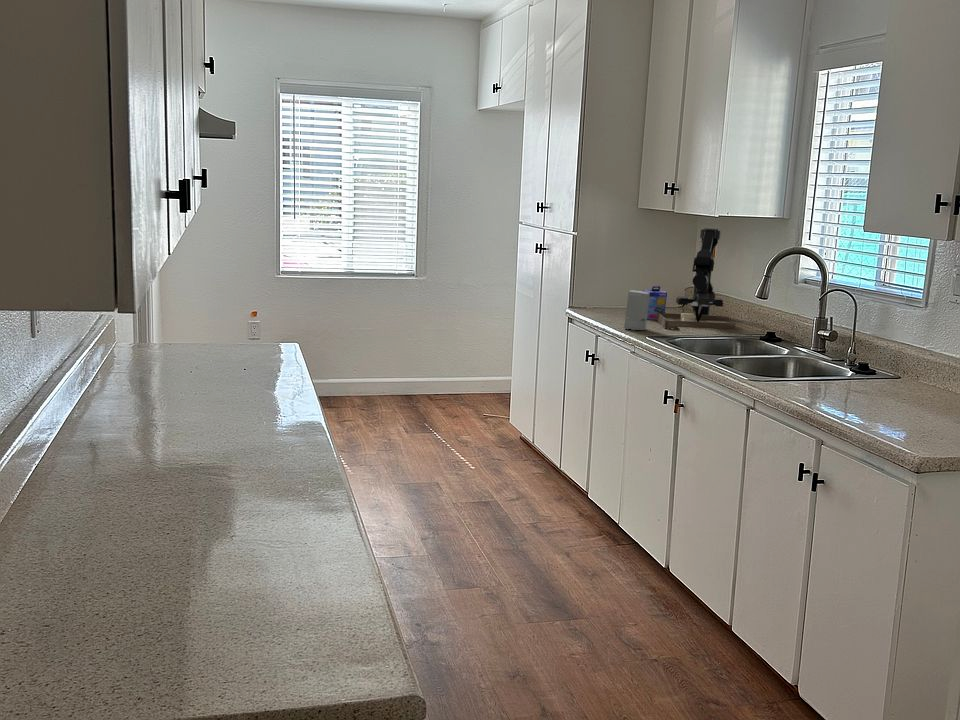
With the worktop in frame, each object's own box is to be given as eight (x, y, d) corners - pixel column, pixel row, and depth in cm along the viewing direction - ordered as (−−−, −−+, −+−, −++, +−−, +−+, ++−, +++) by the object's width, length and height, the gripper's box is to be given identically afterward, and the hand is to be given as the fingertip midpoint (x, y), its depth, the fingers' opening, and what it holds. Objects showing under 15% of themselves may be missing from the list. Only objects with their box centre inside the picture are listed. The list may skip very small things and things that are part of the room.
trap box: (657, 320, 406) (657, 312, 405) (723, 323, 406) (724, 315, 406) (665, 328, 389) (665, 320, 388) (734, 331, 389) (735, 323, 388)
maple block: (680, 321, 399) (681, 313, 398) (692, 321, 399) (692, 313, 398) (683, 323, 394) (683, 315, 393) (694, 324, 394) (695, 315, 394)
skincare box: (623, 329, 382) (627, 291, 379) (626, 326, 389) (629, 289, 386) (644, 331, 380) (648, 293, 377) (646, 328, 387) (650, 290, 383)
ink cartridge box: (643, 319, 408) (646, 286, 405) (639, 317, 414) (642, 284, 410) (665, 319, 410) (668, 286, 407) (660, 317, 416) (663, 284, 412)
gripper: (683, 286, 386) (679, 324, 389) (728, 288, 386) (724, 326, 389) (677, 283, 396) (674, 319, 400) (721, 285, 397) (717, 321, 400)
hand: (697, 321), depth 397 cm, fingers closed
